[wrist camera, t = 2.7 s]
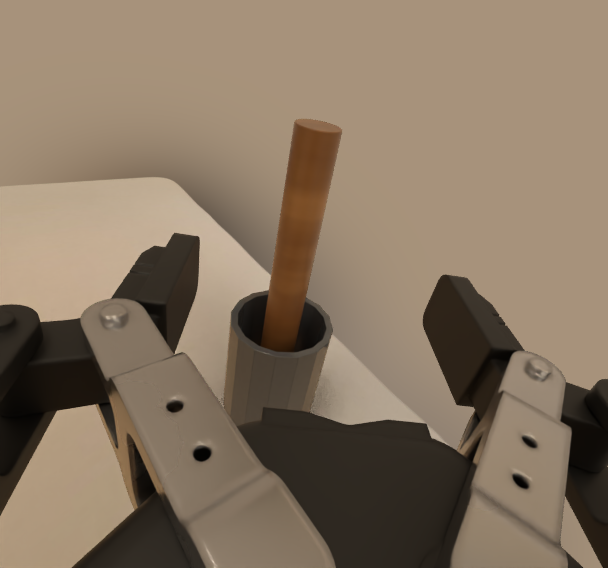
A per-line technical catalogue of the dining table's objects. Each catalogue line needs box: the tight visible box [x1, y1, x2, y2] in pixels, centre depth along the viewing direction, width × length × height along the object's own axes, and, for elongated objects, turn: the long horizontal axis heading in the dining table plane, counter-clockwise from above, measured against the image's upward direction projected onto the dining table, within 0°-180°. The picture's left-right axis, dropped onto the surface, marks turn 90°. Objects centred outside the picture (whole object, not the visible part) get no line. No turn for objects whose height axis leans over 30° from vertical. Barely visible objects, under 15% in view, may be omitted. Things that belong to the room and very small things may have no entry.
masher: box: [261, 119, 342, 352], centre depth 27 cm, size 5×5×22 cm
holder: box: [224, 290, 333, 426], centre depth 30 cm, size 7×7×9 cm
